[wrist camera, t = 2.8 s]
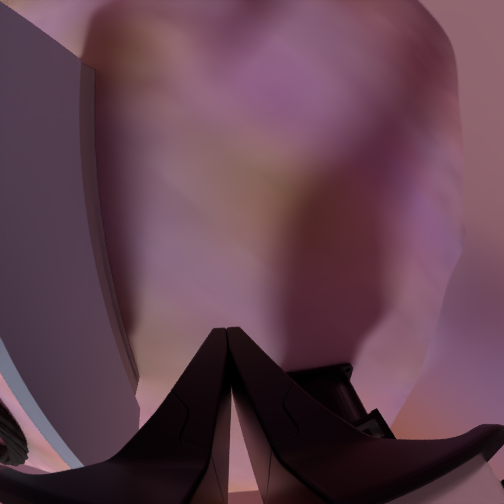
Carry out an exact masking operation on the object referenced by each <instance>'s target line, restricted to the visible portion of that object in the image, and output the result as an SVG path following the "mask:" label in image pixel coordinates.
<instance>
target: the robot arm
mask: <svg viewBox="0 0 504 504" xmlns="http://www.w3.org/2000/svg"><path fill="white" fill-rule="evenodd" d="M347 368H348V369H347ZM352 371H353V367H352V365H351V364H350V363H346V364H340V365H335V366H329V367H324V368H318V369H311V370H305V371H298V372H290V373H285V372H284V371H283V370H282V369H281V368H280V367H279V366H278V365H277V364H276V363H275V362H274V361H273V360H272V359H271V358H270V357H269V356H268V355H267V354H266V353H265V352H264V351H263V350H262V349H261V348H260V347H259V346H258V345H257V344H256V343H255V342H254V341H253V340H252V339H251V338H250V337H249V336H248V335H247V334H246V333H245V332H244V331H243V330H242V329H241V328H240V327H228V328H227V331H226V328H213V329H212V331H211V332H210V334H209V335H208V337H207V338H206V340H205V341H204V342H203V344H202V345H201V347H200V348H199V350H198V351H197V353H196V354H195V356H194V357H193V359H192V360H191V362H190V363H189V365H188V366H187V368H186V369H185V371H184V372H183V374H182V375H181V376H180V378H179V379H178V381H177V382H176V384H175V385H174V387H173V388H172V390H171V392H169V394H168V395H167V397H166V398H165V400H164V401H163V403H162V404H161V405H160V407H159V408H158V409H157V411H156V412H155V413H154V414H153V415H152V416H151V418H150V419H149V420H148V421H147V422H146V423H145V424H144V425H143V426H142V428H141V429H140V430H139V431H138V432H137V433H136V434H135V435H134V436H133V437H132V438H131V439H130V440H129V441H128V442H127V443H126V444H125V445H124V447H123V448H122V449H121V450H120V451H118V452H117V453H116V454H115V455H114V456H112V457H111V458H109V459H107V460H105V461H103V462H100V463H96V464H92V465H88V466H84V467H80V468H75V469H70V470H66V471H61V472H55V473H50V474H40V475H39V474H27V473H22V472H19V471H17V470H14V469H12V468H9V467H7V466H2V465H0V502H1V503H3V504H228V476H229V448H230V422H231V396H232V395H233V399H234V403H235V407H236V411H237V415H238V418H239V422H240V426H241V430H242V433H243V437H244V441H245V444H246V448H247V451H248V455H249V458H250V462H251V465H252V468H253V472H254V475H255V478H256V482H257V485H258V488H259V492H260V495H261V498H262V501H263V504H504V480H502V481H501V482H500V480H499V479H498V477H497V475H496V474H495V472H494V471H493V469H492V468H491V467H490V465H489V463H488V461H489V460H490V459H491V458H492V456H494V454H495V453H496V452H497V451H498V450H499V449H500V448H501V447H502V446H503V445H504V426H503V425H500V424H482V425H479V426H477V427H475V428H473V429H472V430H470V431H469V432H467V433H465V434H462V435H460V436H457V437H453V438H448V439H435V440H405V439H402V440H401V439H396V438H395V437H394V435H393V433H392V431H391V430H390V428H389V427H388V425H387V423H386V422H385V420H384V419H383V417H382V415H381V414H380V412H379V411H378V409H377V408H376V409H374V410H372V411H371V413H369V414H367V412H366V410H365V408H364V406H363V404H362V402H361V400H360V399H359V397H358V395H357V393H356V391H355V389H354V387H353V386H352V384H351V382H350V378H351V375H352ZM231 388H232V393H231Z"/></svg>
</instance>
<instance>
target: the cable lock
mask: <svg viewBox="0 0 504 504" xmlns="http://www.w3.org/2000/svg"><path fill="white" fill-rule="evenodd" d="M0 437H1V438H2V439H3V441H4V442H5V443H6V445H7V446H2V445H0V463H3V464H5V465H13V466H18V465H19V464H24V463H25V460H27V459H28V456H27V453H28V452H29V451H28V448H27V445H26V440H25V438H24V437H23V435H22V434H21V432H20V431H19V430H18V428H17V425H16V424H15V422H14V420H13V419H12V418H11V417H10V416H9V415H8V414H7V413H6V412H5V410H4V409H3V408H2V406H1V405H0Z"/></svg>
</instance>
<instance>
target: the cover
mask: <svg viewBox="0 0 504 504" xmlns="http://www.w3.org/2000/svg"><path fill="white" fill-rule="evenodd" d="M80 72H81V59H79V58H78V57H77V56H75V55H74V54H73V53H71V52H70V51H69V50H68V49H66V48H65V47H64V46H62V45H61V44H60V43H58V42H57V41H56V40H54V39H53V38H51V37H50V36H49V35H47V34H46V33H45V32H43V31H42V30H41V29H39V28H38V27H36V26H35V25H34V24H32V23H31V22H29V21H28V20H27V19H25V18H24V17H22V16H21V15H19V14H18V13H17V12H15V11H14V10H12V9H11V8H9V7H8V6H6V5H5V4H3V3H2V2H0V372H1V374H2V376H3V378H4V379H5V381H6V383H7V384H8V386H9V388H10V389H11V391H12V393H13V394H14V396H15V397H16V399H17V400H18V402H19V403H20V405H21V406H22V408H23V409H24V411H25V412H26V414H27V415H28V416H29V418H30V419H31V421H32V422H33V423H34V425H35V426H36V427H37V429H38V430H39V431H40V433H41V434H42V435H43V436H44V438H45V439H46V440H47V441H48V443H49V444H50V445H51V446H52V447H53V449H54V450H55V451H56V452H57V453H58V454H59V456H60V457H61V458H62V459H63V460H64V461H65V462H66V463H67V465H68V466H69V467H70V468H71V469H75V468H80V467H84V466H88V465H92V464H96V463H100V462H103V461H105V460H107V459H109V458H111V457H112V456H114V455H115V454H116V453H117V452H118V451H120V450H121V449H122V448H123V447H124V445H125V444H126V443H127V442H128V441H129V440H130V439H131V438H132V437H133V436H134V435H135V434H136V433H137V432H138V431H139V417H140V407H139V405H138V402H137V400H136V397H135V395H134V392H133V390H132V387H131V385H130V382H129V379H128V377H127V374H126V371H125V368H124V365H123V363H122V360H121V357H120V354H119V351H118V348H117V345H116V341H115V338H114V335H113V332H112V328H111V325H110V322H109V318H108V314H107V311H106V307H105V303H104V299H103V295H102V291H101V287H100V283H99V279H98V274H97V270H96V265H95V260H94V255H93V250H92V244H91V239H90V233H89V227H88V220H87V213H86V206H85V198H84V189H83V179H82V168H81V153H80V129H79V95H80Z"/></svg>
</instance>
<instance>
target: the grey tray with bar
mask: <svg viewBox="0 0 504 504" xmlns="http://www.w3.org/2000/svg"><path fill="white" fill-rule="evenodd" d="M94 96H95V70H94V69H93V68H91V67H89V66H87V65H85V64H84V63H82V62H81V72H80V95H79V129H80V153H81V168H82V179H83V189H84V198H85V206H86V213H87V220H88V227H89V233H90V239H91V244H92V250H93V255H94V260H95V265H96V270H97V274H98V279H99V283H100V287H101V291H102V295H103V299H104V303H105V307H106V311H107V314H108V318H109V322H110V325H111V328H112V332H113V335H114V338H115V341H116V345H117V348H118V351H119V354H120V357H121V360H122V363H123V365H124V368H125V371H126V374H127V377H128V379H129V382H130V385H131V387H132V390H133V392H134V395H136V390H137V386H138V382H139V374H138V371H137V368H136V365H135V362H134V359H133V355H132V352H131V349H130V346H129V342H128V339H127V335H126V332H125V328H124V324H123V321H122V317H121V313H120V309H119V305H118V301H117V296H116V292H115V288H114V283H113V278H112V274H111V269H110V264H109V258H108V253H107V247H106V241H105V235H104V229H103V222H102V214H101V207H100V198H99V189H98V178H97V166H96V151H95V123H94Z"/></svg>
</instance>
